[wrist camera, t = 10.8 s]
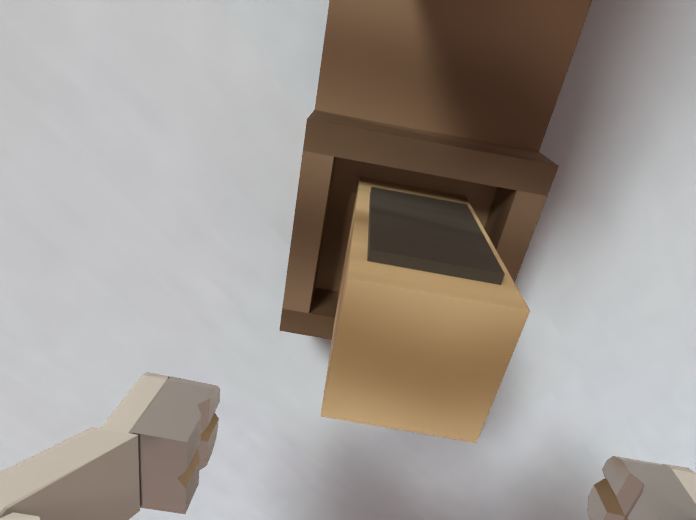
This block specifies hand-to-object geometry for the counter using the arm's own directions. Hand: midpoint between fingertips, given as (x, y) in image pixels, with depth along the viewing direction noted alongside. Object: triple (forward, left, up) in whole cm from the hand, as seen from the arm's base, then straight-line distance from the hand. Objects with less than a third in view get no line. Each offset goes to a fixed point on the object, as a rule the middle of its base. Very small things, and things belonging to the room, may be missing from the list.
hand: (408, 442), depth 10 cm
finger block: (+1, 0, -10) cm, 10 cm away
